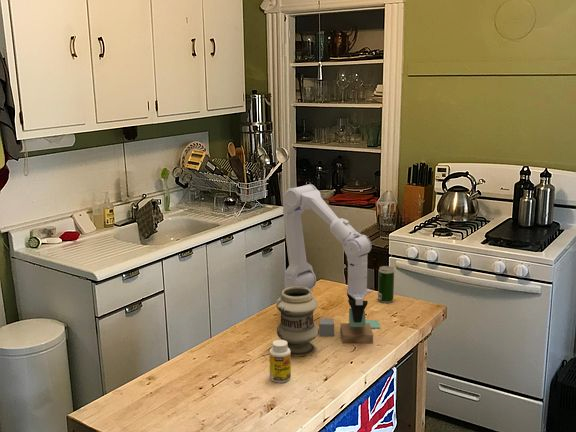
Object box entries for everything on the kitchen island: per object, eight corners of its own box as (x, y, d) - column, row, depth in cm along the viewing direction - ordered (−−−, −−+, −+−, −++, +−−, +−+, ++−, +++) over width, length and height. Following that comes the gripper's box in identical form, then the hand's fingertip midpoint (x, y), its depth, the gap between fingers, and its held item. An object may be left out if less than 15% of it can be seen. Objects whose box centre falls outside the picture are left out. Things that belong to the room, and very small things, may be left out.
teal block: (350, 326, 186) (350, 314, 185) (349, 320, 190) (349, 308, 189) (365, 326, 186) (365, 314, 185) (363, 320, 190) (363, 308, 189)
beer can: (385, 304, 214) (385, 271, 212) (374, 300, 219) (375, 267, 216) (396, 301, 217) (397, 268, 214) (386, 296, 222) (387, 264, 219)
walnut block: (342, 344, 185) (342, 335, 184) (340, 332, 194) (340, 323, 193) (372, 344, 185) (373, 335, 184) (369, 332, 193) (369, 323, 193)
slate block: (319, 336, 190) (319, 324, 189) (318, 330, 194) (319, 318, 193) (334, 336, 190) (334, 324, 189) (333, 330, 194) (333, 318, 193)
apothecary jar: (270, 354, 178) (269, 295, 174) (285, 337, 189) (284, 281, 185) (310, 360, 174) (310, 300, 170) (323, 343, 185) (323, 286, 181)
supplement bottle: (272, 384, 161) (271, 348, 159) (268, 374, 167) (267, 339, 164) (293, 382, 162) (292, 346, 160) (288, 372, 168) (287, 337, 165)
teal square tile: (361, 328, 195) (361, 327, 195) (359, 321, 201) (359, 320, 201) (380, 328, 195) (380, 327, 195) (377, 321, 201) (377, 319, 201)
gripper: (373, 284, 177) (372, 328, 181) (368, 268, 192) (367, 309, 195) (349, 284, 178) (348, 328, 181) (345, 268, 192) (344, 309, 195)
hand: (356, 318), depth 188 cm, fingers closed on teal block, 4 cm apart
